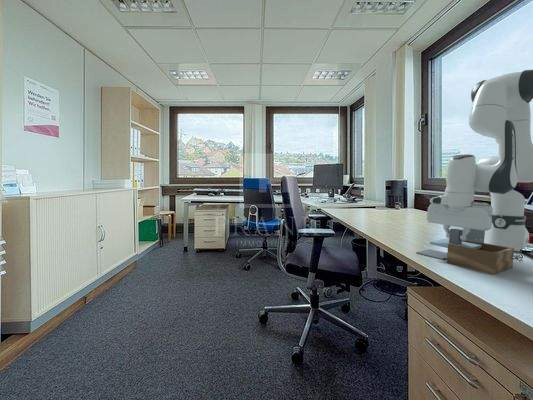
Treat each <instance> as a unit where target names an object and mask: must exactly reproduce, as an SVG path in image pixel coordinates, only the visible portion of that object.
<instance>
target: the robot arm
mask: <svg viewBox="0 0 533 400" xmlns="http://www.w3.org/2000/svg"><path fill="white" fill-rule="evenodd" d="M470 98H471V102H472V104H471V108H470V111H469V112H470V113H469V116H468V126H469V127H470V129H471V130H473V132H474V133H477V134H479V135H482V136H483V137H488V138H491V139H494V140H495V141H496V142H495V143H496V144H498V155H497V156H490V157H489V156H488V157H485V158H481V159H480V160H479V161H478V162H477V161H476V156H475V155H474V154H468V153H467V154H465V153H464V154H456V155H453V156H451V157H449V159H448V163H447V168H446V174H445V182H446V187H445V189H444V194H443V195H439V196H435V197H431V198H430V199H429V203H430V204H429V206H428V207H427V212H426V220H427V222H428V223H429V224H437V225H442V226H443V230H444V231H445V237H446V239H447V238H449V235H450V230H449V228H450V226H455V227H462V228H463V231H465V232H464V233H463V235H459V237H460V238H459V240H463V241H465V240H466V235H467V234H468V233H469V232H470V229H476V230H482V231H485V237H484V243H486V244H492V245H498V246H503V247H509V248H514V252H521V251H520V249H525V247H527V246H533V244H532V243H530V233H529V231H528V229H527V227H526V220H527V216H526V215H525V208H526V207H525V205H526V199H525V196H524V195H523V194H522V193H521V192H519V191H517V190H515V188H516V187H517V186H518V185H517V184H518V183H533V141H532V137H531V135H532V134H531V122H532V121H531V115H532V114H531V112H532V111H531V105H530V102H532V101H533V69H524V70H523V71H516V72H510V73H505V74H502V75H499V76H495V77H492V78H489V79H484V80H481V81H479V82H477V83H476V84H475V85H474V86H473V87H472V88H471V93H470ZM475 192H482V193H490V204H489V203H488V202H481V201H475ZM479 205H481V206H479Z"/></svg>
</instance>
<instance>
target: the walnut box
mask: <svg viewBox="0 0 533 400" xmlns="http://www.w3.org/2000/svg"><path fill="white" fill-rule="evenodd" d="M466 242H467V243H473V244H478V245H482V247H481V248H479V249H473V248H468V247H463V246H458V245H453V244H448V248H447V252H446V253H447V259H446V264H451V265H455V266H459V267H463V268H467V269H470V270H474V271H478V272H482V273H487V274H491V275H497V274H499V273H502V272H505V271H508V270H509V269H513V266H514V265H513V264H514V255H515V251H514V248H509V247H503V246H498V245H492V244H486V243H481V242H475V241H470V240H466Z"/></svg>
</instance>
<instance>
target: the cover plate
mask: <svg viewBox="0 0 533 400" xmlns="http://www.w3.org/2000/svg"><path fill="white" fill-rule="evenodd" d="M459 235H463V230H460V229H450V235H449V239H447V237H446V238H440V239H436V240H430V241H429V245H431V246H436V247H437V246H438V247H440V248H441V247H442V248H446V249H448V244H453V245H458V246H463V247H468V248H473V249H479V248H481V247H482V245H478V244H473V243H467V242H462V240H459V238H460V237H459Z"/></svg>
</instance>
